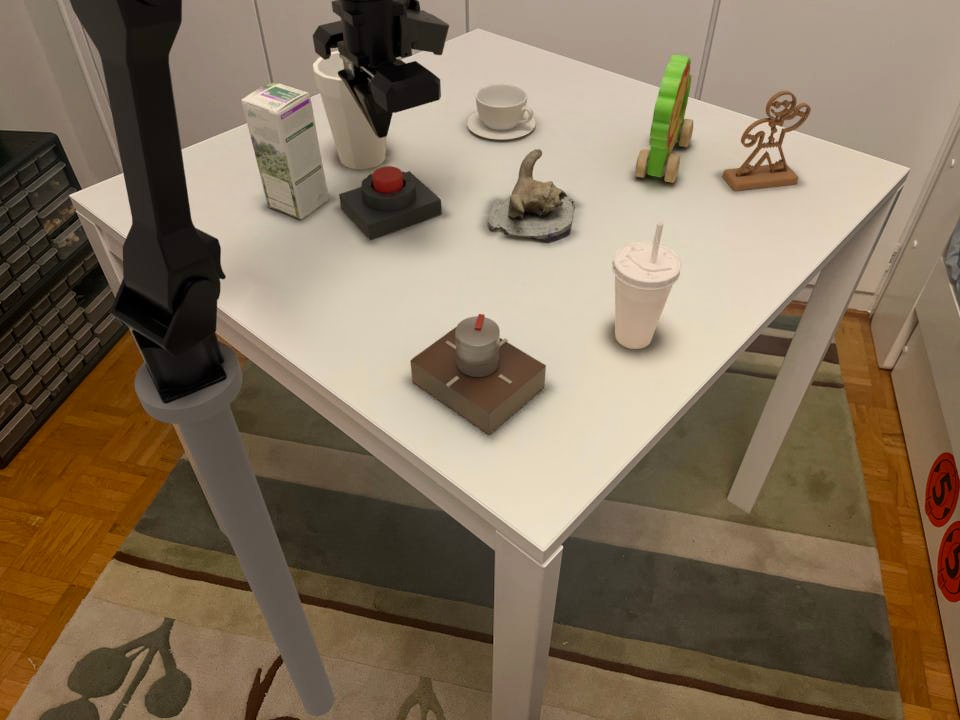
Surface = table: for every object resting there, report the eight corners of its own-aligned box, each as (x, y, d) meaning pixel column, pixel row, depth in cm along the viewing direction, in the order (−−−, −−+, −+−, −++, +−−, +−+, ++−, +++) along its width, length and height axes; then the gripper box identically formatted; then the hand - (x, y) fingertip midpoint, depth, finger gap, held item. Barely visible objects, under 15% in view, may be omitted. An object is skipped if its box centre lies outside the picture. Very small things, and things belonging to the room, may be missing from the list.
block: (369, 240, 89) (366, 211, 86) (341, 209, 94) (336, 181, 91) (441, 214, 93) (440, 186, 90) (410, 185, 98) (408, 158, 95)
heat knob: (494, 380, 68) (495, 346, 65) (452, 374, 69) (450, 340, 66) (502, 350, 71) (503, 316, 68) (461, 345, 72) (460, 311, 69)
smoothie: (649, 366, 74) (674, 251, 64) (591, 343, 76) (606, 228, 66) (674, 329, 77) (701, 215, 68) (617, 308, 80) (635, 195, 70)
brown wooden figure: (733, 191, 96) (757, 102, 88) (721, 175, 99) (743, 87, 90) (797, 183, 97) (827, 95, 89) (783, 168, 100) (811, 81, 92)
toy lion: (654, 134, 107) (672, 25, 96) (692, 140, 106) (715, 31, 95) (627, 189, 97) (644, 74, 86) (669, 198, 95) (692, 81, 84)
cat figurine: (483, 241, 90) (484, 203, 86) (499, 180, 97) (501, 142, 92) (566, 253, 89) (572, 215, 84) (577, 190, 96) (582, 152, 91)
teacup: (454, 131, 108) (453, 100, 105) (489, 104, 114) (489, 74, 111) (514, 149, 104) (514, 117, 101) (547, 120, 110) (549, 89, 107)
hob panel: (411, 382, 72) (409, 359, 70) (468, 339, 77) (468, 316, 74) (488, 435, 68) (488, 412, 65) (545, 386, 72) (547, 363, 70)
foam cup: (398, 140, 106) (390, 48, 97) (395, 174, 100) (386, 79, 91) (331, 141, 106) (317, 49, 97) (324, 175, 100) (307, 80, 90)
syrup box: (331, 199, 95) (312, 90, 85) (299, 222, 92) (276, 110, 82) (297, 187, 98) (275, 78, 87) (265, 208, 94) (238, 98, 84)
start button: (382, 197, 89) (380, 184, 88) (368, 184, 91) (367, 171, 90) (408, 188, 90) (407, 176, 89) (394, 175, 93) (393, 163, 91)
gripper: (484, 3, 72) (484, 150, 83) (393, -47, 83) (404, 88, 94) (381, 28, 68) (396, 180, 79) (300, -28, 79) (323, 111, 90)
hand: (381, 136), depth 86 cm, fingers closed
